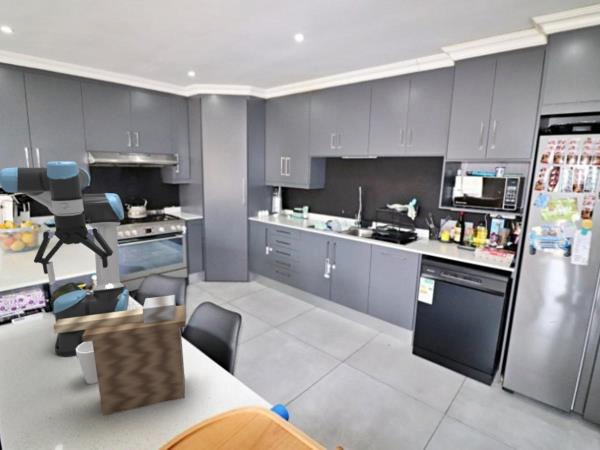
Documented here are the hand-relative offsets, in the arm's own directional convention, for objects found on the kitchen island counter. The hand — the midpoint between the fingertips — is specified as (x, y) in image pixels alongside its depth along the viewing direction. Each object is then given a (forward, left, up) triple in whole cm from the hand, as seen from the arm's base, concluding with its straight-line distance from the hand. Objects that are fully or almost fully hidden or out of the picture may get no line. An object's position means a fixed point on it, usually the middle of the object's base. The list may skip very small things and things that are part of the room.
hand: (78, 280), depth 102 cm
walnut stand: (+4, +18, -41) cm, 44 cm away
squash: (-70, -42, -41) cm, 92 cm away
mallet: (+5, +12, -13) cm, 18 cm away
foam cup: (-8, -3, -41) cm, 42 cm away
